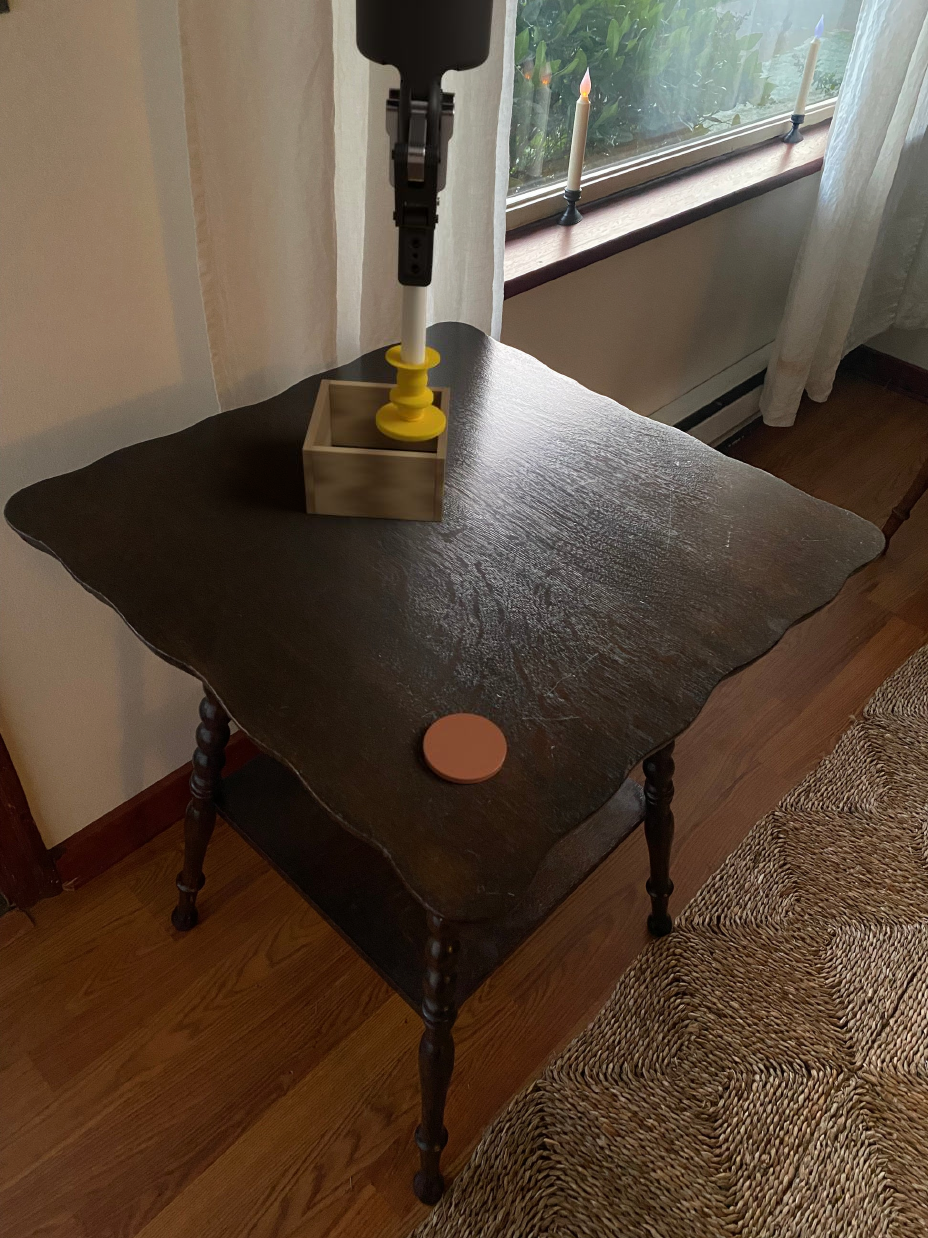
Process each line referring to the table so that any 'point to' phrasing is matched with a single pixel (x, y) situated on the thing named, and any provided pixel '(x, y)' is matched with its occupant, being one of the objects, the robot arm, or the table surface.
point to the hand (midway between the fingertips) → (415, 276)
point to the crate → (370, 458)
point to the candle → (412, 377)
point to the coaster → (464, 748)
